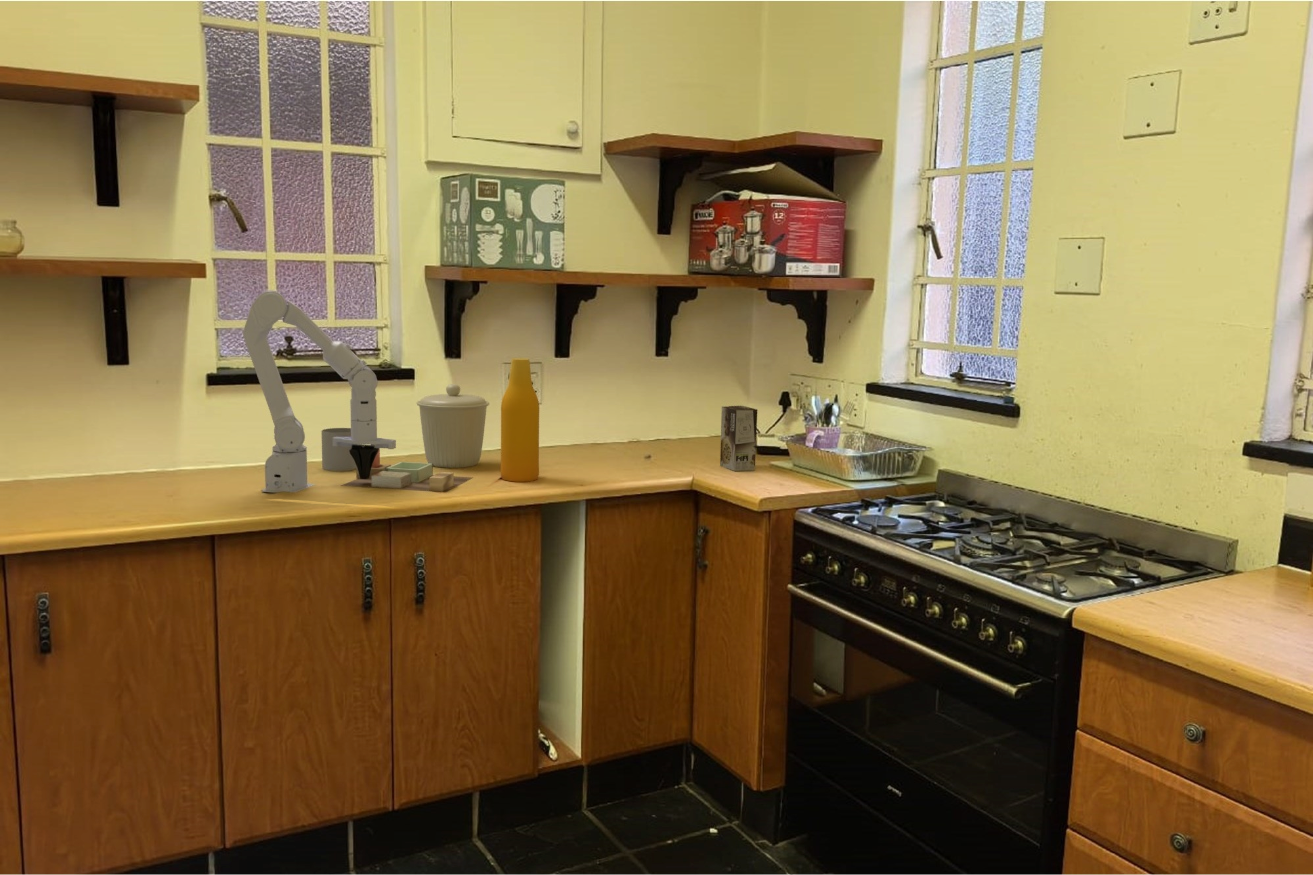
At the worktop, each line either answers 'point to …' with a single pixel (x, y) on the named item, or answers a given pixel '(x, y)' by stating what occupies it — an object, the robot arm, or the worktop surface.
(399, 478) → the grey flat block
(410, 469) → the tray
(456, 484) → the bench board
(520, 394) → the beer bottle
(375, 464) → the dowel
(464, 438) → the canister
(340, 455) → the cup
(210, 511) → the worktop surface
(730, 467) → the coffee box
